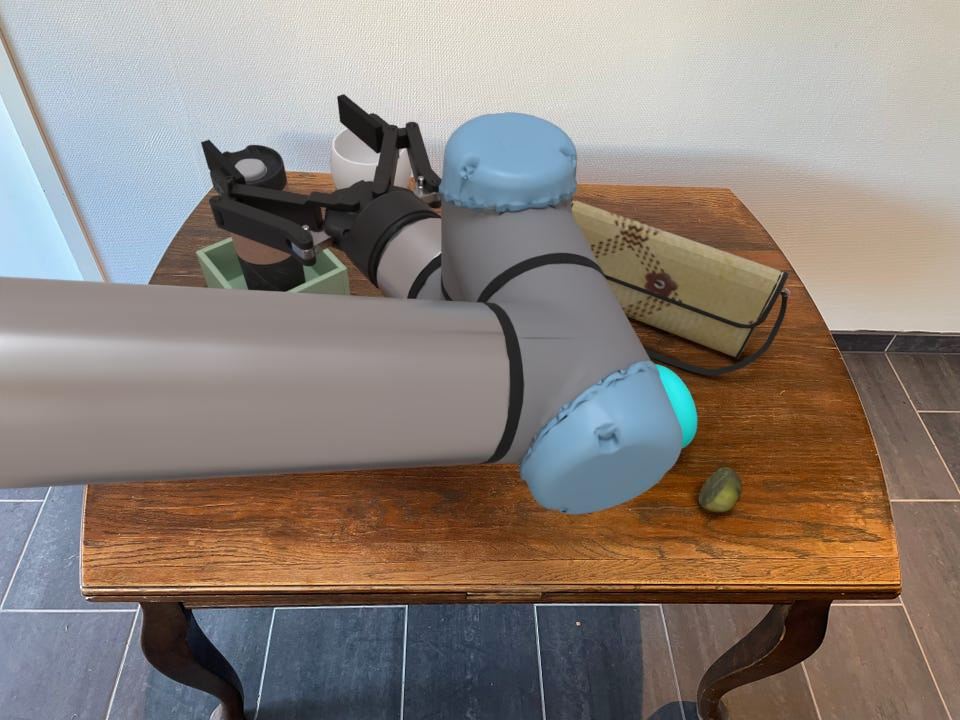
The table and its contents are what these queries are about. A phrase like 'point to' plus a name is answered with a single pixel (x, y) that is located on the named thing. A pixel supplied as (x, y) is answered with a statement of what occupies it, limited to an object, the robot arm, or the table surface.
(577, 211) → the clutch purse
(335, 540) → the table surface
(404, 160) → the cup
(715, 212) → the table surface
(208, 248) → the bin
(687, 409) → the turquoise yo-yo
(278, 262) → the travel mug
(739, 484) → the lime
